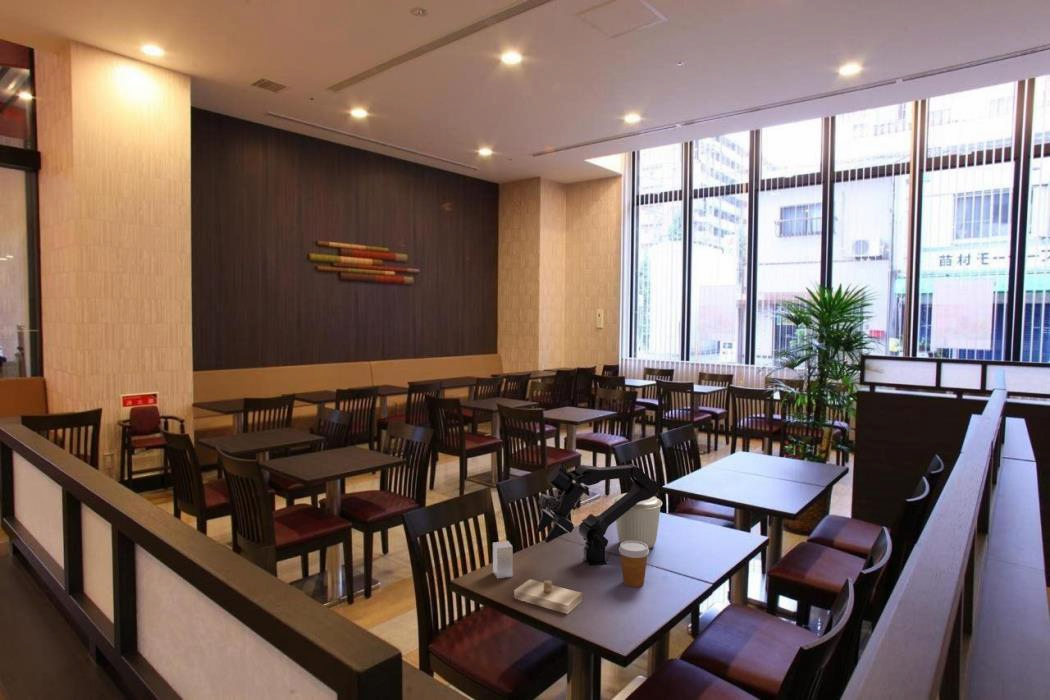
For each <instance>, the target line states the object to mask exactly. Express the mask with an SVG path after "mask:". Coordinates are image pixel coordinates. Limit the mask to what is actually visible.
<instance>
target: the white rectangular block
mask: <svg viewBox="0 0 1050 700" xmlns="http://www.w3.org/2000/svg"><path fill="white" fill-rule="evenodd" d="M513 547H514V546H513V544H511V542H510V541H509V540H503V541H496V542H492V573H493V575H494V576H495V577H496V578H497V580H498V579H499V578H500V579H505V577H506V578H512V577H514V573H513V571H514V570H513V569H514V567H513V566H514V565H513V564H514V562H513V561H514V559H513V558H514V557H513V555H514V553H513V550H514V549H513Z"/></svg>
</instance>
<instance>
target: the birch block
mask: <svg viewBox="0 0 1050 700" xmlns="http://www.w3.org/2000/svg"><path fill="white" fill-rule="evenodd" d="M513 593H514V595H513V599H514V598H515V599H514V600H517V599H518V601H522V602H524V601H525V602H524V603H529V604H532V605H536V606H539V607H542V608H545V609H549V610H552V611H555V612H558V613H559V612H560V613H562V614H566V615H568V614H569V613H571V612H572V611H573V610H574V609H575V608H576V607H577V606H578V605H579V604H581V602H583V601H582V600H583V596H582V593H583V592H581V591H577V590H576V591H575V590H571V589H568V588H565V587H560V586H557V585H553V581H552V580H550V579H547V580H544V581H543V582H541V581H538V580H536V579H535V580H534V579H531V578H530V579H528V580H527V581H525V582H524V583H522V584H521V585H519V586H518V587H516V589H514V591H513Z"/></svg>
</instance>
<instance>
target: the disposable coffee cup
mask: <svg viewBox="0 0 1050 700" xmlns="http://www.w3.org/2000/svg"><path fill="white" fill-rule="evenodd" d="M618 551H619V553H620V562H621V563H620V564H621V570H622V581H623V584H624V585H625V586H628V587H630V588H631V587H632V588H640V587H642V586H644V585H645V578H646V570H647V561H648V555H649V553H650V548H649V549H648V546H647V545H646V544H645V543H643V542H639V541H625V542H622V543H620V545H619V547H618Z"/></svg>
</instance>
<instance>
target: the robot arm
mask: <svg viewBox="0 0 1050 700" xmlns="http://www.w3.org/2000/svg"><path fill="white" fill-rule="evenodd" d="M628 478H630V479H631V481H632V482H633V483H632V485H631V488H630V490H629V491H628V492H626V493H627V494H626V495H624V496H623V497H622V498H621V499H619V500H618V501H617V502H615V503H614V504H613V503H612V504H611V505H610V506H609V507H608V508H607V509H605V510H604V511H603V512H601V513H600V514H599V515H594V514H593V513H590V514H589V515H587V516H586V518H584V519H581V522H580V524H579V526H578V534H580V536H581V537H582V538H583V541H585V542H584V547H583V560H584V561H586V563H587V565H589V566H593V565H601V564H604V565H605V564H607V563H608V561H607V560H606V548H607V547H608V544H609V540H608V539H607V538H606V536H605V534H606V533H607V530H608V528H609V526H611V525H612V524H613V523H616V520H617V519H618V518H620V517H621V516H622V515H623V514H625V513H626V512H627V511H628V510H630V509H631V508H632V507H633V506H635V505H636V504H637V503H638V502H640V501H644V500H648V499H650V498H652V497H654V496H655V497H656V496H657V494H658V493H659V490H660V487H659V483H658V481H656V480H654V479H652V478H651V477H650V476H649V475H648V474H646V473H645V472H644V471H643V470H641V468H640V466H637V465H635V464H632V463H631V464H630V463H629V464H624V465H614V466H602V467H599V466H594V465H588V464H587V465H586V464H581V465H578V466H577V468H575V469H572V470H570V471H566V470H565V469H564V467H562V466H561V465H558V466H557V467H556V468H554V469H552V470H551V471H550V472H549V473H548V474H547V477H546V482H547V483H548V484H549V485H551V486H552V487H553V488H554V489H556V490H557V491H559V492H561V493H562V494H561V495H560V494H557V495H556V496H554V497H553V496H552V495H547V494H544V493H541V494H540V497H539V500H538V504H539V507H540V508H539V510H540V514H541V516H540V519H539V522H538V524H537V528H536V530H535V531H536V533H538V534H540V533H541V532H542V531H543V530H544V529H546V528H547V527H548V526H549V525H552V527H551V528H550V530H549V531H548V534H547V535H546V537H545V540H544V542H545V543H547V544H548V543H550V542H552V541H554V540H555V539H557V538H560V537H561V536H564V535H565V534H568V533H570V534H571V533H572V531H573V530H574V529H575V526H574V523H573V522H572V521H571V520H569V517H568V516H569V514H570V513H571V512H572V510H573V511H575V510H576V509H577V507H576V505H577V503H578V502H579V501H580V499H581V498H582V496H583V495H584V494H585V495H586V496H587V497H589V496H590V490H589V489H590V487H588V486H594V485H597V484H600V483H601V482H603V481H608V480H609V481H610V480H616V479H617V480H619V479H620V480H621V479H628ZM573 481H574V482H573ZM582 484H583V485H582ZM584 485H585V486H584Z"/></svg>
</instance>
